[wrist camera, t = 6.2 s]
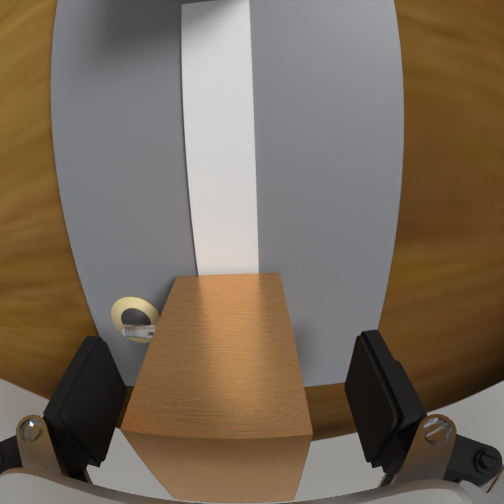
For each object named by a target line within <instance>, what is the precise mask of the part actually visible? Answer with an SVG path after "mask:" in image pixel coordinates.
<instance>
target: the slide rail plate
mask: <svg viewBox="0 0 504 504" xmlns="http://www.w3.org/2000/svg"><path fill="white" fill-rule="evenodd" d="M51 118H52V133H53V145H54V155H55V163H56V171H57V178H58V185H59V191H60V197H61V202H62V208H63V213H64V218H65V223H66V227H67V232H68V236H69V240H70V244H71V248H72V252H73V256H74V260H75V263H76V267H77V270H78V274H79V277H80V281H81V284H82V287H83V290H84V293H85V296H86V299H87V302H88V305H89V308H90V311H91V314H92V317H93V319H94V322H95V325H96V327H97V330H98V333H99V335H100V337H101V338H102V339H103V341H105V342H106V343H107V344H108V347H109V349H110V352H111V354H112V357H113V359H114V361H115V364H116V366H117V368H118V370H119V373H120V375H121V377H122V379H123V381H124V384H125V385H126V386H135V383H136V380H137V378H138V375H139V372H140V369H141V366H142V364H143V361H144V358H145V355H146V353H147V350H148V347H149V345H150V342H151V339H152V338H132V337H125V336H123V335H122V333H121V327H122V326H123V325H124V324H142V325H157V324H158V321H159V319H160V316H161V314H162V311H163V309H164V306H165V304H166V301H167V299H168V296H169V294H170V291H171V289H172V287H173V284H174V282H175V279H176V277H177V276H191V275H222V274H249V273H273V272H280V275H281V280H282V284H283V289H284V293H285V298H286V302H287V307H288V312H289V317H290V321H291V326H292V331H293V336H294V340H295V345H296V350H297V355H298V360H299V365H300V370H301V375H302V380H303V385H304V387H307V386H317V385H326V384H334V383H341V382H345V381H346V377H347V373H348V370H349V366H350V362H351V357H352V353H353V349H354V345H355V340H356V337H357V336H359V335H360V334H361V332H362V331H368V330H377V328H378V324H379V320H380V315H381V311H382V307H383V302H384V298H385V293H386V288H387V283H388V278H389V273H390V267H391V261H392V256H393V249H394V243H395V236H396V229H397V221H398V212H399V203H400V193H401V181H402V166H403V143H404V97H403V75H402V61H401V50H400V40H399V32H398V24H397V17H396V11H395V5H394V0H58V2H57V9H56V15H55V23H54V32H53V43H52V58H51Z"/></svg>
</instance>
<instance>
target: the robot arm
mask: <svg viewBox="0 0 504 504" xmlns="http://www.w3.org/2000/svg"><path fill="white" fill-rule="evenodd" d="M345 393H346V396H347V399H348V402H349V406H350V409H351V412H352V415H353V418H354V422H355V425H356V428H357V432H358V435H359V438H360V442H361V445H362V449H363V452H364V456H365V459H366V461H367V462H371V464H372V468H376V467H379V466H382V468H383V471H384V472H385V475H384V477H383V478H382V480H381V482H380V484H379V486H378V487H377V488H375V489H370V490H366V491H362V492H357V493H353V494H347V495H342V496H336V497H330V498H324V499H317V500H309V501H301V502H292V503H280V504H504V464H502V456H501V454H500V453H499V451H498V450H497V449H496V448H494V447H492V446H489V445H486V444H483V443H480V442H477V441H474V440H472V439H469V438H466V437H463V436H460V435H458V434H456V432H457V431H456V427H455V425H454V423H453V422H452V420H450V419H449V418H448V417H446V416H444V415H439V414H434V415H430V416H427V413H426V411H425V409H424V407H423V405H422V403H421V401H420V399H419V397H418V395H417V393H416V391H415V390H414V388H413V386H412V384H411V382H410V380H409V378H408V376H407V374H406V372H405V370H404V369H403V367H402V365H401V364H400V362H399V361H395V360H394V358H393V356H392V355H391V353H390V351H389V349H388V347H387V345H386V343H385V342H384V340H383V338H382V336H381V334H380V333H379V331H378V330H368V331H362V332H361V334H360V335H359V336H357V337H356V340H355V345H354V349H353V353H352V357H351V362H350V366H349V370H348V373H347V377H346V381H345ZM126 394H127V389H126V386H125V384H124V381H123V379H122V377H121V375H120V373H119V370H118V368H117V366H116V364H115V361H114V359H113V357H112V354H111V352H110V349H109V347H108V344H107V343H106V342H105V341H103V339H102V338H101V337H93V336H87V337H86V338H85V340H84V341H83V343H82V345H81V346H80V348H79V350H78V351H77V353H76V355H75V356H74V358H73V360H72V361H71V363H70V365H69V366H68V368H67V370H66V372H65V373H64V375H63V377H62V379H61V381H60V382H59V384H58V386H57V388H56V390H55V392H54V393H53V395H52V397H51V399H50V401H49V403H48V405H47V407H46V409H45V411H44V412H43V414H44V417H43V418H41V417H40V416H38V415H28V416H26V417H24V418H23V419H22V420H21V421H20V422H19V424H18V426H17V428H16V435H15V436H13V437H11V438H8V439H6V440H4V441H1V442H0V504H201V503H189V502H179V501H171V500H164V499H157V498H151V497H145V496H140V495H135V494H130V493H125V492H121V491H117V490H112V489H108V488H104V487H101V486H97V485H93V483H92V481H91V479H90V477H89V474H88V472H87V470H86V467H87V465H88V464H89V465H93V466H96V467H100V464H101V462H103V461H104V460H105V458H106V455H107V452H108V449H109V445H110V442H111V439H112V436H113V433H114V429H115V427H116V424H117V421H118V418H119V415H120V412H121V409H122V406H123V403H124V400H125V398H126Z"/></svg>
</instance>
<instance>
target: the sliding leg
mask: <svg viewBox="0 0 504 504" xmlns="http://www.w3.org/2000/svg"><path fill="white" fill-rule="evenodd" d="M121 333H122V335H123V336H125V337H132V338H152V339H151V342H150V345H149V347H148V350H147V353H146V355H145V358H144V361H143V364H142V366H141V369H140V372H139V375H138V378H137V380H136V383H135V386H134V389H133V392H132V395H131V398H130V401H129V404H128V407H127V410H126V413H125V416H124V419H123V422H122V425H121V428H120V430H121V431H122V433H123V434H124V436H125V437H126V439H127V440H128V442H129V443H130V444H131V446H132V447H133V448H134V450H135V451H136V453H137V454H138V455H139V457H140V458H141V459H142V461H143V462H144V463H145V465H146V466H147V467H148V469H149V470H150V471H151V472H152V473H153V475H154V476H155V477H156V478H157V480H158V481H159V482H160V483H161V484H162V486H163V487H164V488H165V489H166V490H167V491H168V492H169V493H170V495H171V496H172V497H173V498H174V499H179V500H188V501H200V502H218V503H261V502H279V501H290V500H294V498H295V495H296V492H297V488H298V486H299V482H300V479H301V475H302V472H303V469H304V465H305V462H306V458H307V454H308V451H309V447H310V443H311V439H312V435H313V432H312V426H311V421H310V416H309V411H308V405H307V400H306V395H305V390H304V385H303V380H302V375H301V370H300V365H299V360H298V355H297V350H296V345H295V340H294V336H293V331H292V326H291V321H290V317H289V312H288V307H287V302H286V298H285V293H284V289H283V284H282V280H281V275H280V272H273V273H249V274H222V275H191V276H177V277H176V279H175V282H174V284H173V287H172V289H171V291H170V294H169V296H168V299H167V301H166V304H165V306H164V309H163V311H162V314H161V316H160V319H159V321H158V324H157V325H142V324H124V325H123V326H122V327H121Z"/></svg>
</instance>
